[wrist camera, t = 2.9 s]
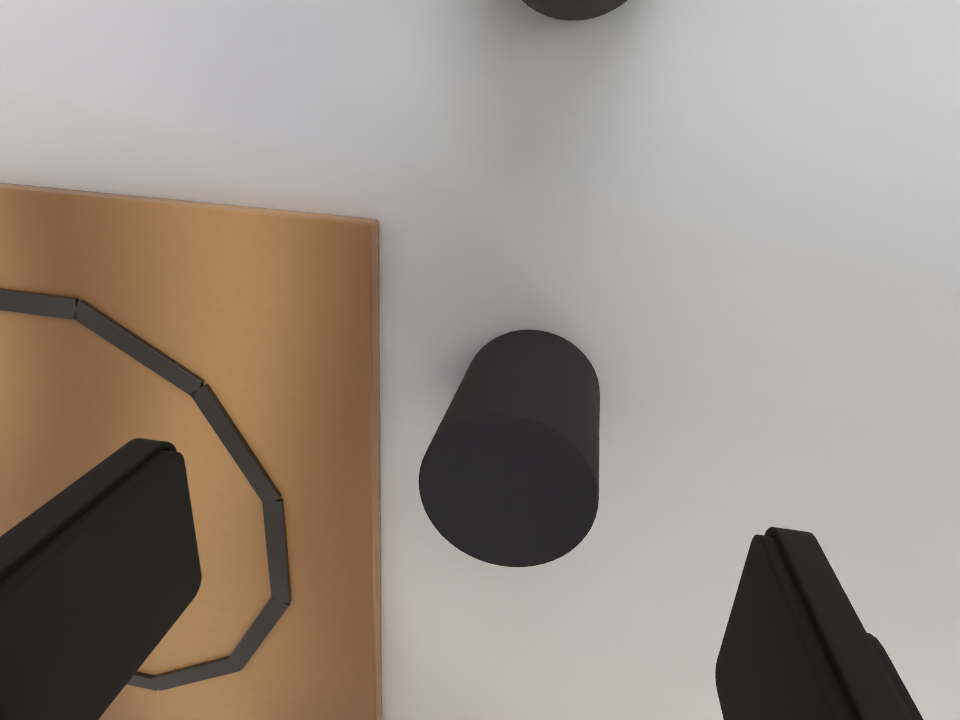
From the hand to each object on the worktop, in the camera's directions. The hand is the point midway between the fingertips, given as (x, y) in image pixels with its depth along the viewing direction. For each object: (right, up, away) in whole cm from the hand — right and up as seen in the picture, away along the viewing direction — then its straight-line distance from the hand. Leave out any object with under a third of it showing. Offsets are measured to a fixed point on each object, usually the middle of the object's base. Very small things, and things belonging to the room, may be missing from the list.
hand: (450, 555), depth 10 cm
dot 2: (+2, +2, +6) cm, 6 cm away
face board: (-12, -1, +10) cm, 16 cm away
